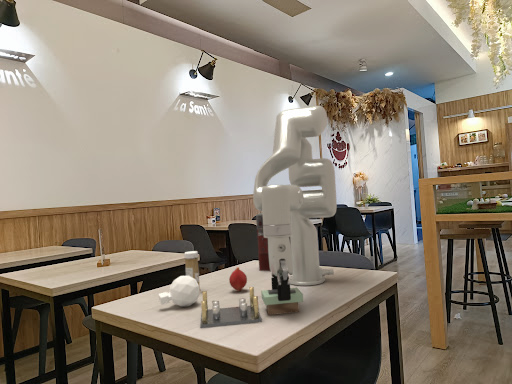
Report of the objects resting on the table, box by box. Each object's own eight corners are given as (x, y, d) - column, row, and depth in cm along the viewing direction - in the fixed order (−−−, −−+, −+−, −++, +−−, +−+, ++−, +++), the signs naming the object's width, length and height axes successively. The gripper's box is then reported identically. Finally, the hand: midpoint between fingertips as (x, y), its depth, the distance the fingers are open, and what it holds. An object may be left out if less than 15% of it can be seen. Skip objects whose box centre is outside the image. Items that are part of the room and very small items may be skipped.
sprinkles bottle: (202, 291, 129) (200, 251, 129) (189, 294, 126) (187, 253, 126) (196, 289, 132) (194, 250, 133) (184, 291, 130) (182, 252, 130)
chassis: (256, 307, 107) (254, 286, 107) (261, 321, 95) (260, 297, 95) (201, 313, 105) (200, 291, 105) (200, 327, 93) (198, 303, 93)
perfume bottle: (194, 292, 120) (157, 304, 115) (192, 266, 117) (154, 277, 112) (205, 306, 113) (166, 320, 108) (203, 279, 110) (163, 292, 105)
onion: (226, 292, 126) (224, 267, 126) (238, 288, 130) (237, 264, 130) (238, 294, 122) (237, 269, 122) (251, 290, 126) (249, 266, 126)
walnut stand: (295, 307, 105) (295, 296, 105) (298, 311, 101) (298, 300, 101) (266, 310, 104) (266, 299, 104) (268, 314, 100) (268, 303, 100)
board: (297, 294, 106) (296, 285, 106) (303, 301, 99) (302, 291, 99) (261, 298, 105) (261, 288, 105) (265, 305, 98) (264, 295, 98)
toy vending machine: (257, 271, 156) (252, 203, 156) (266, 266, 166) (262, 201, 167) (278, 272, 153) (273, 201, 153) (286, 266, 163) (282, 200, 163)
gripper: (298, 232, 94) (302, 303, 94) (285, 228, 111) (288, 287, 111) (268, 234, 93) (272, 305, 93) (259, 230, 110) (262, 289, 110)
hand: (281, 295), depth 102 cm, fingers open, 9 cm apart
